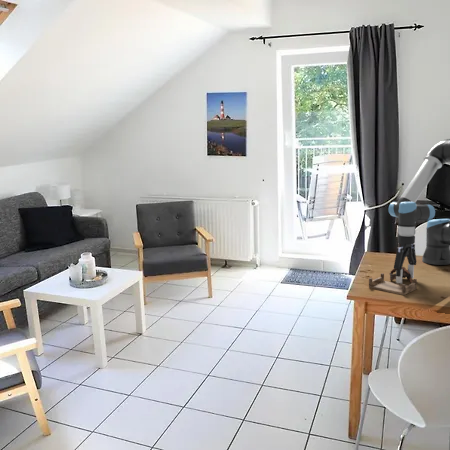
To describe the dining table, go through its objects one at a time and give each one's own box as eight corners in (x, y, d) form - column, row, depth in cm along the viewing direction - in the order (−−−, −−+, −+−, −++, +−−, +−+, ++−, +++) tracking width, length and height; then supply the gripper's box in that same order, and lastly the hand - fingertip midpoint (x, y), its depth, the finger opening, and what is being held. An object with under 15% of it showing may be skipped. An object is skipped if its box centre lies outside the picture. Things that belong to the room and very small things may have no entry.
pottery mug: (413, 286, 226) (404, 271, 225) (394, 292, 231) (385, 278, 230) (415, 273, 236) (407, 259, 235) (397, 279, 241) (388, 266, 240)
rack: (381, 282, 233) (381, 273, 232) (416, 288, 221) (416, 279, 220) (368, 288, 225) (369, 278, 224) (404, 295, 213) (404, 285, 212)
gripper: (410, 231, 239) (408, 274, 242) (386, 237, 222) (385, 283, 226) (425, 232, 233) (423, 277, 236) (402, 239, 217) (400, 286, 220)
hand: (404, 280), depth 231 cm, fingers closed on pottery mug, 11 cm apart
